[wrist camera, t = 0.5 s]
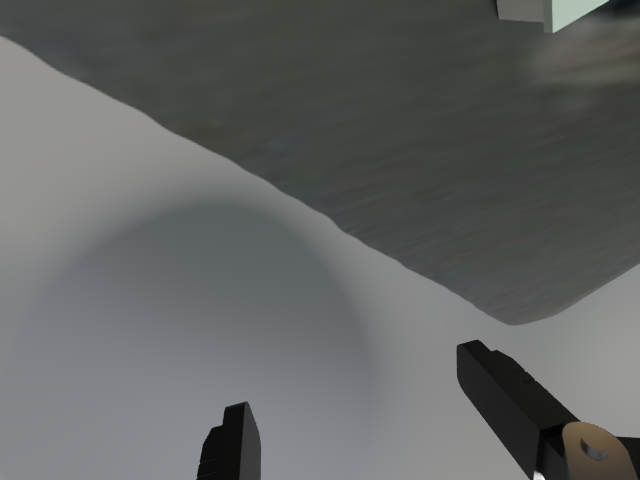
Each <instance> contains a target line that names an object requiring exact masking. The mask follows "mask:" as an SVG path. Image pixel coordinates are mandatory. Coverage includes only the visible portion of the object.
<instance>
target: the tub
mask: <svg viewBox="0 0 640 480" xmlns="http://www.w3.org/2000/svg"><path fill="white" fill-rule="evenodd" d="M497 8H498V17H499V19H502V20H517V21H532V22H544V17H543V0H497Z"/></svg>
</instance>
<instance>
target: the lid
mask: <svg viewBox="0 0 640 480" xmlns="http://www.w3.org/2000/svg"><path fill="white" fill-rule="evenodd" d="M607 1H609V0H543V17H544V32H545V33H554V32H556V31H558V30H559V29H561V28H563V27H564V26H566V25H568V24H570V23H571V22H573V21H575V20H576V19H578V18H580V17H581V16H583V15H585V14H587V13H588V12H590V11H592V10H593V9H595V8H597V7H598V6H600V5H602V4H604V3H605V2H607Z"/></svg>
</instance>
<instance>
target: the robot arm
mask: <svg viewBox="0 0 640 480" xmlns="http://www.w3.org/2000/svg"><path fill="white" fill-rule="evenodd" d="M457 378H458V381H459V384H460V386H461V388H462V390H463V391H464V393H465V394H466V396H467V397H468V398H469V400H470V401H471V402H472V403H473V405H474V406H475V407H476V409H477V410H478V411H479V413H480V414H481V415H482V417H483V418H484V419H485V421H486V422H487V423H488V425H489V426H490V427H491V429H492V430H493V431H494V433H495V434H496V435H497V437H498V438H499V439H500V440H501V442H502V443H503V445H504V446H505V447H506V449H507V450H508V451H509V453H510V454H511V455H512V457H513V458H514V459H515V460H516V462H517V463H518V464H519V466H520V467H521V468H522V470H523V471H524V472H525V474H526V475H527V476H528V478H529V479H530V480H640V438H631V437H616V436H614V435H612V434H611V433H610V432H608V431H606V430H605V429H603V428H601V427H599V426H596V425H594V424H590V423H586V422H581V421H580V420H578V419H577V418H576V417H575V416H574V415H573V414H572V413H571V412H569V411H568V410H567V409H566V408H565V407H564V406H563V405H562V404H561V403H560V402H559V401H558V400H557V399H556V398H554V397H553V396H552V395H551V394H550V393H549V392H548V391H547V390H546V389H545V388H544V387H542V385H540V384H539V383H538V382H537V381H535V380H534V378H533V377H532V376H531V375H530V374H529V373H528V372H525V370H524V369H523V368H522V367H521V366H520V365H519V364H518V363H517V362H516V361H515V360H514V359H512V358H511V357H509V356H507V355H505V354H503V353H501V352H499V351H497V350H495V351H490V350H489V349H488V348H487V347H486V346H485V345H484V344H483V343H482V342H481V341H479V340H474V341H470V342H466V343H463V344H459V345H458V346H457ZM260 478H261V443H260V436H259V431H258V428H257V425H256V422H255V420H254V417H253V414H252V411H251V409H250V406H249V404H248V402H243V403H239V404H235V405H232V406H228V407H226V408H225V411H224V418H223V425H221V426H218V427H214V428H212V429H211V431H210V433H209V435H208V436H207V438H206V440H205V442H204V444H203V448H202V453H201V458H200V465H199V468H198V473H197V479H196V480H260Z"/></svg>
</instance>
